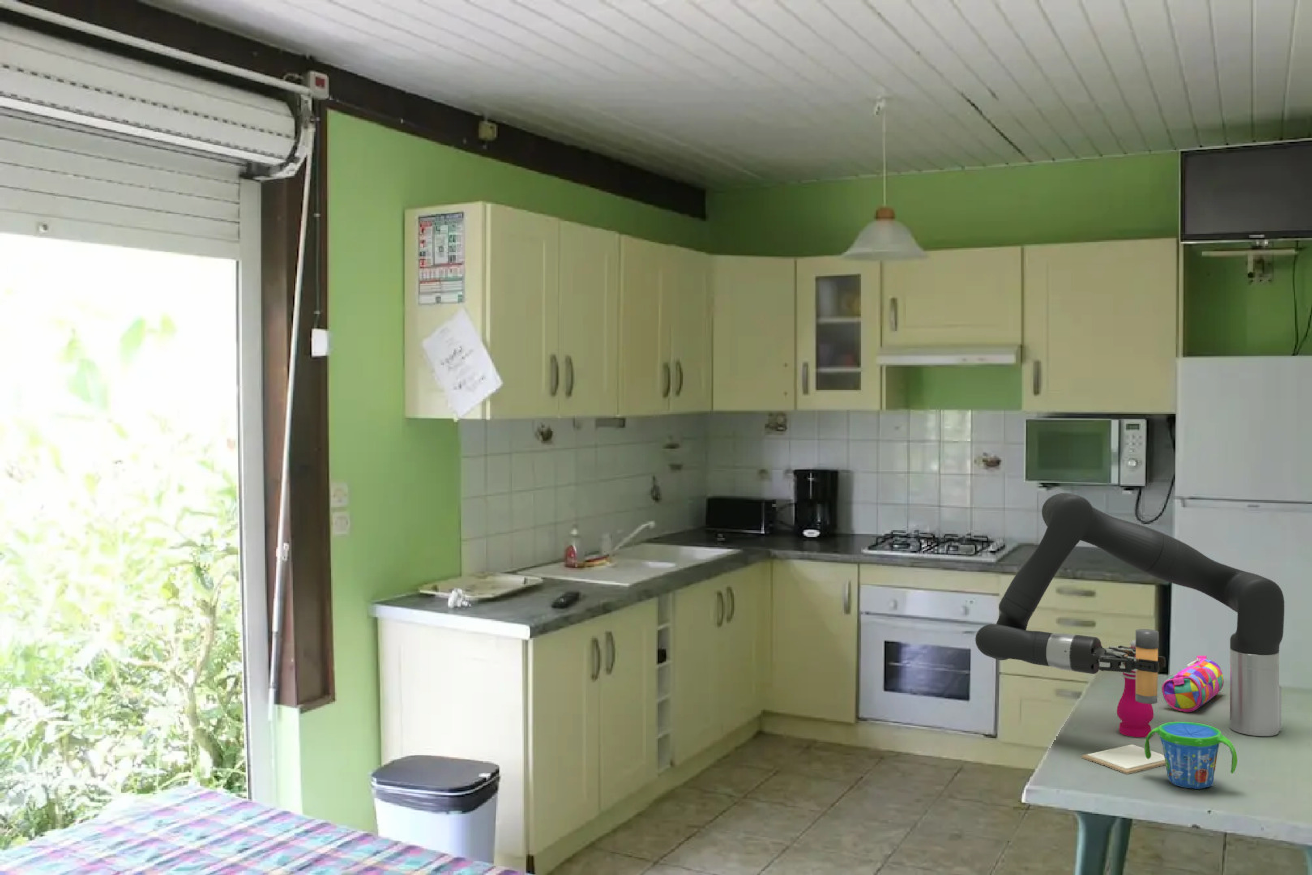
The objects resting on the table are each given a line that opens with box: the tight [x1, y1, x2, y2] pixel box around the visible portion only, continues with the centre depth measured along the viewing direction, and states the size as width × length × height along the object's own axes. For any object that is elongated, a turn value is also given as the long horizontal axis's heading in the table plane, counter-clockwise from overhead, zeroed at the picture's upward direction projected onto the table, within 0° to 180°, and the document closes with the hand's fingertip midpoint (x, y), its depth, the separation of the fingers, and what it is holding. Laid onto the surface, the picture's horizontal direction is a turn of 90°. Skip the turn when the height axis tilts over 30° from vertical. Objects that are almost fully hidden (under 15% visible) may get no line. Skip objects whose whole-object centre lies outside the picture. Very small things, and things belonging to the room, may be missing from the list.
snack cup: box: [1143, 721, 1238, 790], centre depth 208 cm, size 16×10×10 cm
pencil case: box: [1161, 655, 1225, 713], centre depth 261 cm, size 22×9×9 cm, turn 142°
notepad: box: [1081, 743, 1166, 775], centre depth 222 cm, size 14×11×1 cm
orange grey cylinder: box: [1134, 628, 1160, 705], centre depth 223 cm, size 4×4×14 cm
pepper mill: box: [1116, 639, 1155, 738], centre depth 238 cm, size 7×7×20 cm
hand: (1161, 664), depth 221 cm, fingers closed on orange grey cylinder, 4 cm apart
